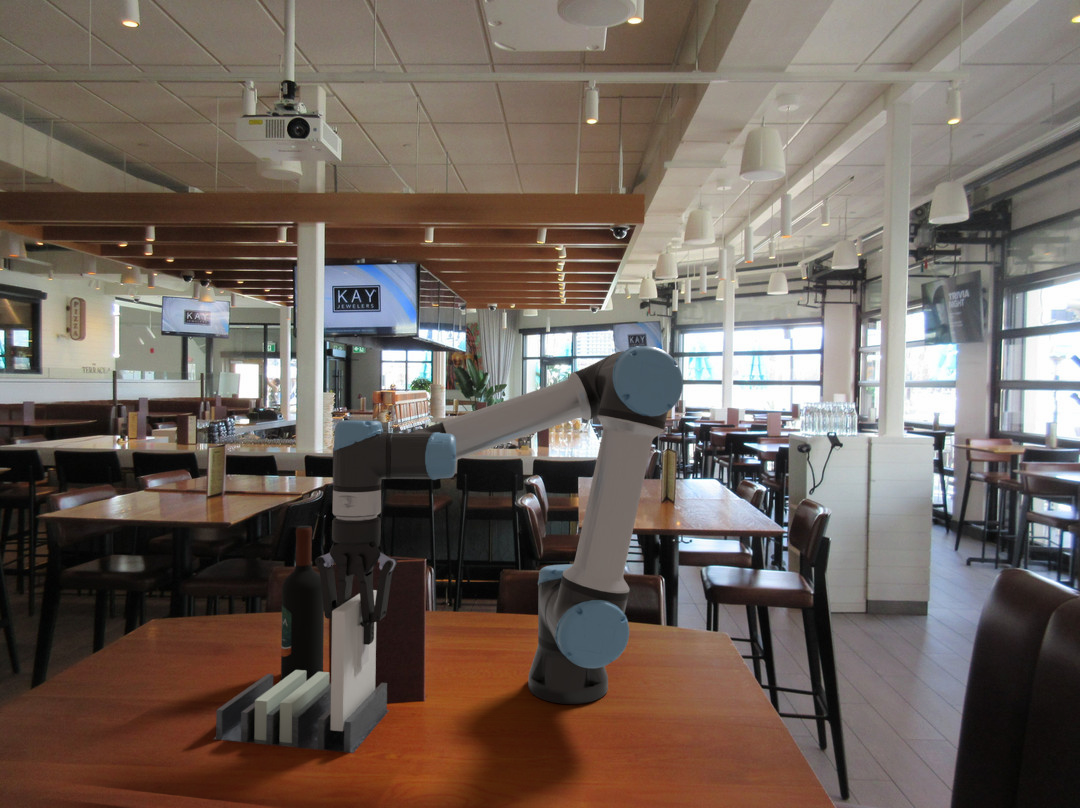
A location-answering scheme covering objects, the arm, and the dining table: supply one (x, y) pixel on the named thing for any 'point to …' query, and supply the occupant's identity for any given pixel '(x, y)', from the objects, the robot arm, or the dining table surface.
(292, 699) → the offcut
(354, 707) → the tall sheet
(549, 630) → the robot arm
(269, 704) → the offcut
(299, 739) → the rack
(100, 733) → the dining table surface
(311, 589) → the wine bottle
